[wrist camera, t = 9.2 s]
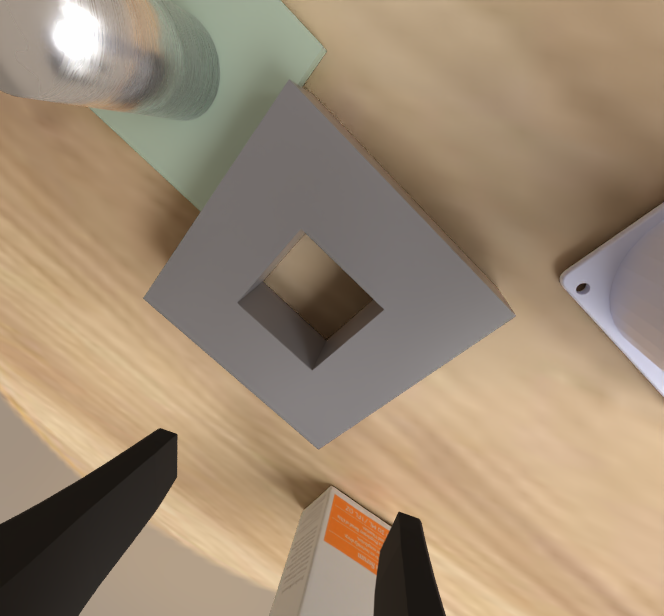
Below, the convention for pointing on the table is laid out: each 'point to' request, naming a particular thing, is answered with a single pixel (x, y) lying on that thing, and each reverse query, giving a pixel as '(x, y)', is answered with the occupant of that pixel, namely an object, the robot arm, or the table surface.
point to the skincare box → (332, 560)
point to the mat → (224, 93)
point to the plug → (109, 56)
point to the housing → (347, 251)
